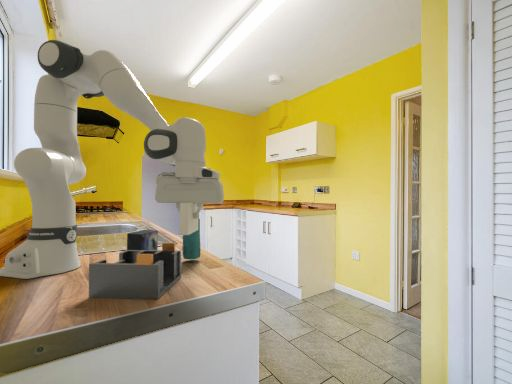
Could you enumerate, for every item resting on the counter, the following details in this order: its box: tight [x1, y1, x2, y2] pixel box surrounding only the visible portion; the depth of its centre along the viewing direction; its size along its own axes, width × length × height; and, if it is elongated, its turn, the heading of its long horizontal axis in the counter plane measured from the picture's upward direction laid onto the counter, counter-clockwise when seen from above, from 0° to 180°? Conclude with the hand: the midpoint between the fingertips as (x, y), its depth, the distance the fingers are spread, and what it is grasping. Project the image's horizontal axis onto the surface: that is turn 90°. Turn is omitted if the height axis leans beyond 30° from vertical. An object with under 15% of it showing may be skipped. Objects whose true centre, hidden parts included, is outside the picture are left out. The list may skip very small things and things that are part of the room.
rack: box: [88, 241, 182, 300], centre depth 66 cm, size 17×15×10 cm
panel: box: [179, 202, 199, 236], centre depth 73 cm, size 2×10×9 cm, turn 178°
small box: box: [126, 229, 159, 250], centre depth 94 cm, size 11×6×10 cm, turn 168°
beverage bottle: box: [181, 218, 201, 260], centre depth 90 cm, size 6×7×20 cm
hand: (189, 218), depth 73 cm, fingers closed on panel, 2 cm apart
